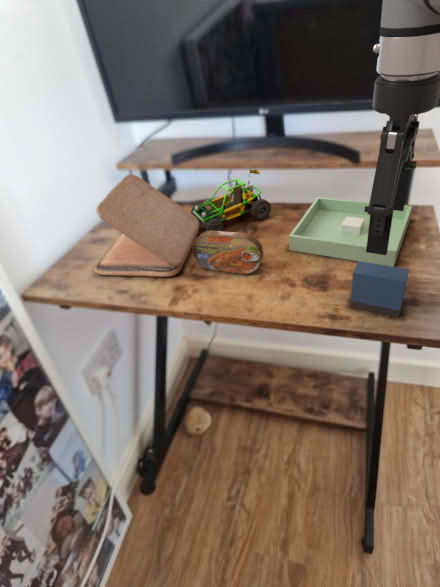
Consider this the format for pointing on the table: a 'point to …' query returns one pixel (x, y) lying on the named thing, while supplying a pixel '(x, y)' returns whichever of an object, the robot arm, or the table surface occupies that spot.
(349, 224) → the chalk
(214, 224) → the motor vehicle
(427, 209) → the table surface
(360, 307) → the eraser
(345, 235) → the tray
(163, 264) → the case
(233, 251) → the tin
